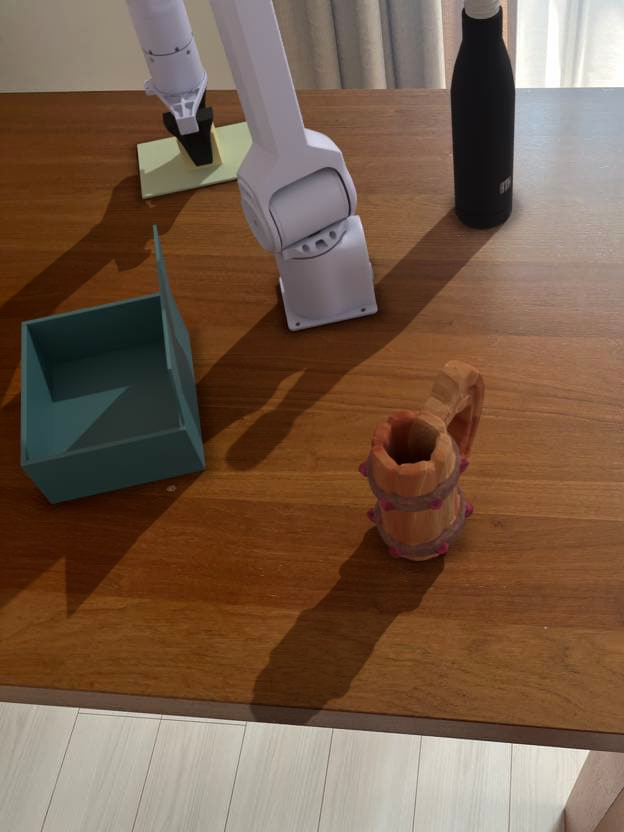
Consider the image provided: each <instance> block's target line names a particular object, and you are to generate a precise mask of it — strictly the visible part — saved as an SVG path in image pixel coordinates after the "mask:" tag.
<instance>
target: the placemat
mask: <svg viewBox="0 0 624 832" xmlns="http://www.w3.org/2000/svg"><path fill="white" fill-rule="evenodd" d="M215 130H216V133H217V137H218V140H219V144H220V150H221V156H222V162H223V164H222V165H217V166H213V167H208V168H203V169H198V170H194V171H189V172H187V170H186V167H185V164H184V162H183V159H182V156H181V153H180V150H179V147H178V144H177V141H176V137H175V136H171V137H166V138H162V139H156V140H153V141H148V142H143V143H137V155H138V156H137V157H138V167H139V168H138V169H139V179H140V187H141V189H140V190H141V196H142V197H141V198H142V200H145V199H150V198H155V197H159V196H163V195H168V194H173V193H178V192H184V191H187V190H193V189H197V188H201V187H206V186H212V185H215V184H221V183H224V182H225V183H226V182H231V181H233V180H238V177H237V171H238V169H239V167H240V165H241V163H242V161H243V160H244V158H245V156H246V154H247V153H248V151H249V149H250V147H251V145H252V138H251V135H250V131H249V128H248V125H247V122H246V121H242V122H238V123H234V124H233V123H232V124H228V125H223V126H219V127H215Z"/></svg>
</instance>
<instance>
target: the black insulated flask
mask: <svg viewBox="0 0 624 832" xmlns="http://www.w3.org/2000/svg"><path fill="white" fill-rule="evenodd" d="M503 10H504V9H503V7H502V5H501V0H464V1H463V7H462V9H461V42H460V45H459V47H458V48H459V49H458V51H457V55H456V59H455V62H454V64H453V69H452V76H451V82H450V83H451V84H450V90H449V93H450V94H449V95H450V97H449V98H450V113H451V114H450V118H451V142H452V144H451V145H452V166H453V189H454V212H455V216H456V218H457V220H458V221H459V222H460V223H461V224H463V225H464V226H466V227H468V228H471V229H476V230H489V229H494V228H497V227H499V226H501V225H502V224H504V223H506V221H508V219H509V218H510V217H511V214H512V212H513V196H514V195H513V194H514V165H515V164H514V163H515V162H514V158H515V157H514V156H515V127H516V126H515V125H516V124H515V123H516V122H515V121H516V86H515V85H516V84H515V77H514V72H513V66H512V62H511V57H510V55H509V52H508V49H507V46H506V44H505V40H504V38H503V36H504V35H503V34H504V33H503V32H504V29H503V27H504V11H503Z"/></svg>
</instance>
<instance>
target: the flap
mask: <svg viewBox="0 0 624 832" xmlns="http://www.w3.org/2000/svg"><path fill="white" fill-rule="evenodd" d="M152 232H153V240H154V241H153V242H154V251H155V252H154V253H155V261H156V269H157V270H156V271H157V281H158V288H159V289H158V290H159V292H160V301H161V310H162V320H163V330H164V340H165V349H166V359H167V369H168V373H169V377H170V381H171V385H172V388H173V392H174V396H175V400H176V404H177V408H178V412H179V416H180V419H181V423H182V425H185V417H184V408H183V399H182V390H181V381H180V372H179V363H178V354H177V345H176V336H175V327H174V318H173V309H172V300H171V293H172V292H171V284H170V279H169V276H168V272H167V271H168V270H167V267H166V262H165V258H164V254H163V249H162V244H161V240H160V236H159V232H158V228H157V224H153V225H152Z"/></svg>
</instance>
